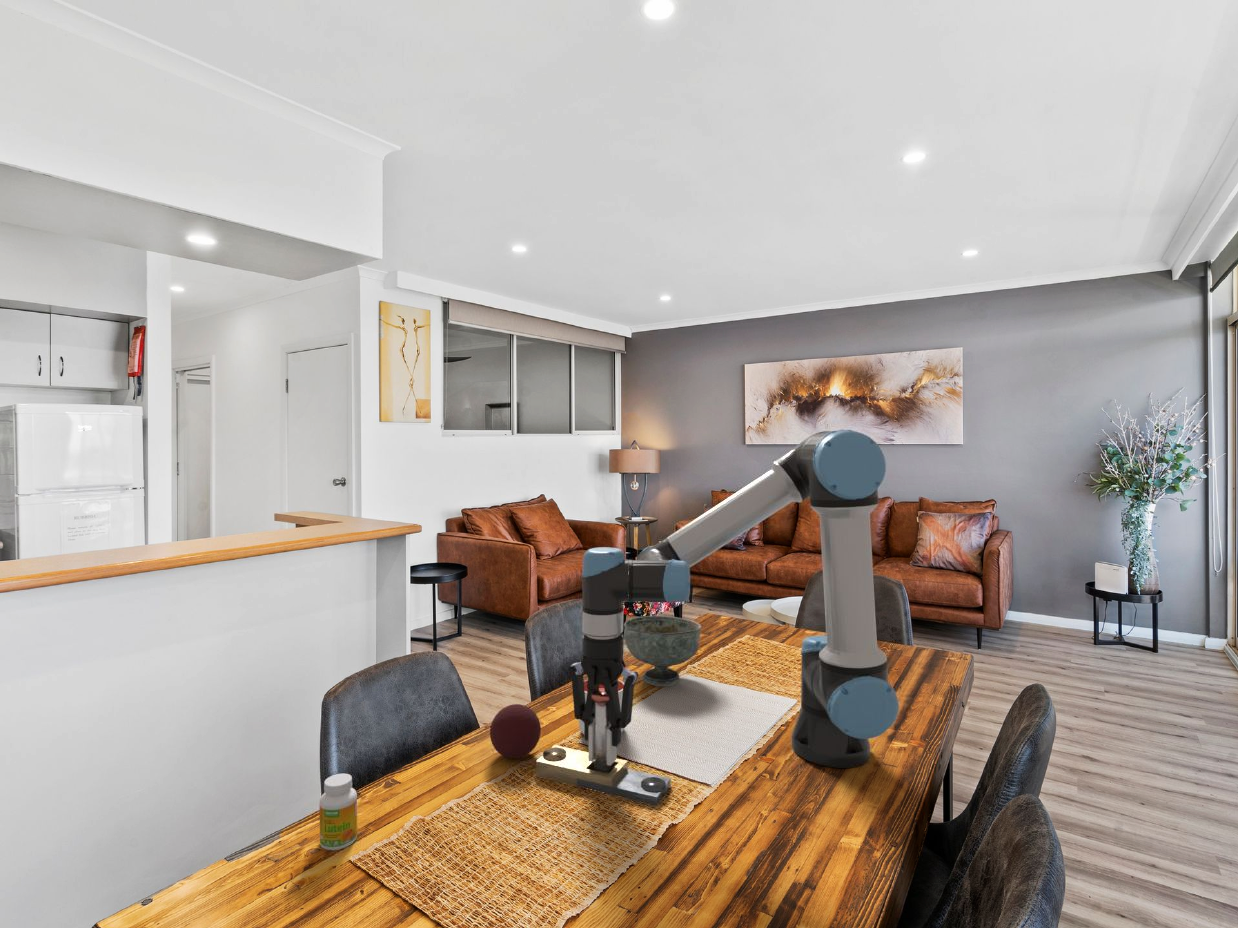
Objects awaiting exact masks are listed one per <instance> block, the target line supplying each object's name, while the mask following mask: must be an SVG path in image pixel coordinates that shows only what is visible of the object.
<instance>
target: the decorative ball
mask: <svg viewBox="0 0 1238 928" xmlns="http://www.w3.org/2000/svg"><path fill="white" fill-rule="evenodd" d="M541 726H542V725H541V722H540V719H539V716H538V714H537V713H535V711H534V710H533V709H531V708H530V707H529V706H527V705H523V704H520V703H519V704H518V703H513V704H509V705H507V706H505V707H503V708H501V709H500V710H499V711H498V712H497V713H496V714H495V716H494V718H493V719H492V721H491V724H490V727H489V728H490V729H489V736H490V742H491V744H492V747H493V748H494V749H495V751H496V752H497V753H498V754H500V755H501V756H502V757H504V758H507V759H520V758H523V757H525V756H528V755H529V754H530V753H531V752H532V751H533V750H534V749H535V748H536V746H537V745H538V743H539V741H540V738H541V733H542V732H541V731H542V729H541Z"/></svg>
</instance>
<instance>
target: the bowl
mask: <svg viewBox="0 0 1238 928" xmlns="http://www.w3.org/2000/svg"><path fill="white" fill-rule="evenodd" d="M623 627H624V634H623V640H624V642H625V646H626V648H627V649H628V651H629V652H630V654H631V656H632V657H634V658H635V659H636V660H638V661H639V662H642V663H645V664H648V665H651V666H654V668H650V669H648V670H646V671H645V672H644V673H643V675H642V681H643V682H644V683H646V684H649V685H651V686H657V687H672V686H675V685H677V684H678V683H679V681H680V675H679V673H678V672H677V671H675V670H674V669H671V668H669V667H672V666H677V665H681V664H683V663H685V662H687V661H689V660H691V659H692V658H693V657H694V656H695V655H696V654H697V653H698V651H699V646H700V645H699V643H700V636H701V630H702V629H701V628H702V626H701V624H700V623H698V622H696V621H693V620H691V619H685V618H681V617H677V616H665V615H648V616H646V615H645V616H637V617H633V618H630V619H628V620H626V621H625V622H624V623H623Z"/></svg>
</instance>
